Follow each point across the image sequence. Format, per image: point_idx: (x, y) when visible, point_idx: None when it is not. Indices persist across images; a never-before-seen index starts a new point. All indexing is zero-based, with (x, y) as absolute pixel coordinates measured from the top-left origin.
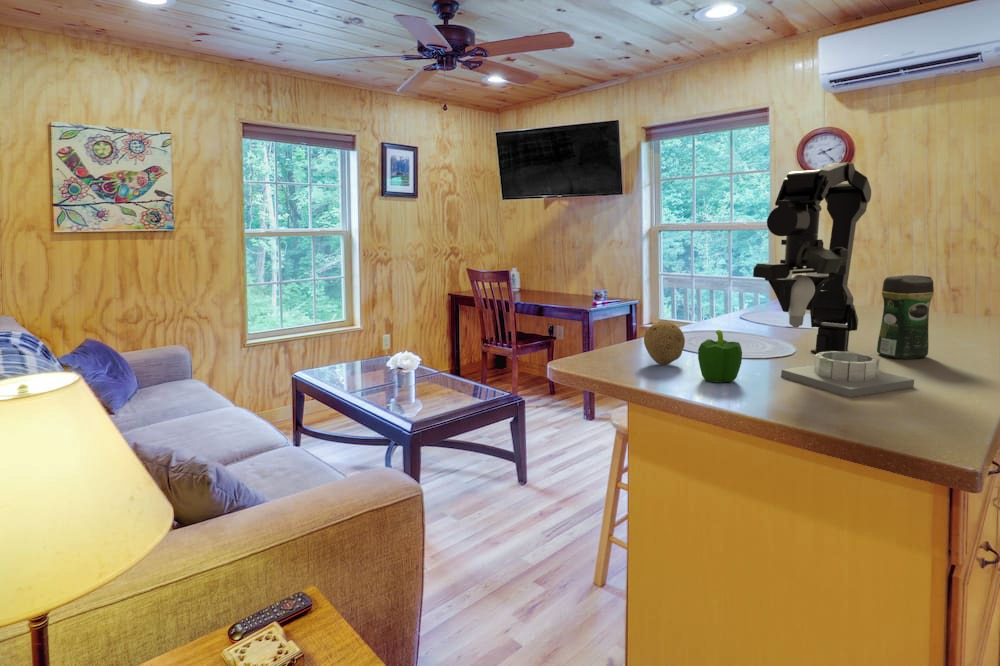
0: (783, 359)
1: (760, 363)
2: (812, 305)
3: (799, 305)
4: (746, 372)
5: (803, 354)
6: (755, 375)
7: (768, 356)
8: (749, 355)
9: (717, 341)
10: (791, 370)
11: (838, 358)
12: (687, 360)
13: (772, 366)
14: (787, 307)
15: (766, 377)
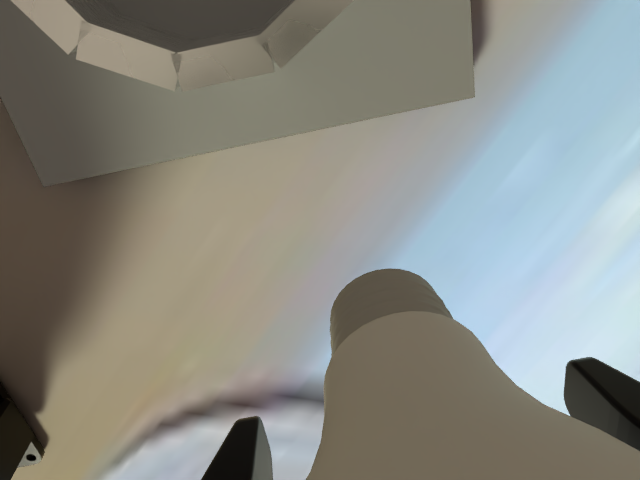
0: (236, 372)
1: None
2: (217, 457)
3: (503, 383)
4: (552, 203)
5: (96, 430)
6: (555, 143)
7: (268, 423)
8: None
9: None
10: (441, 61)
11: (142, 31)
12: None
13: None
14: (636, 382)
15: (536, 95)
